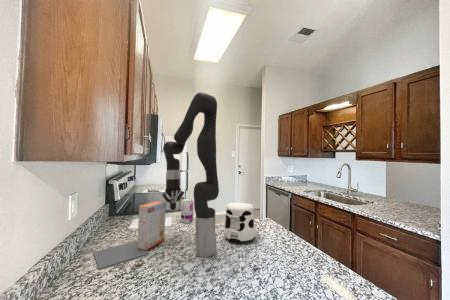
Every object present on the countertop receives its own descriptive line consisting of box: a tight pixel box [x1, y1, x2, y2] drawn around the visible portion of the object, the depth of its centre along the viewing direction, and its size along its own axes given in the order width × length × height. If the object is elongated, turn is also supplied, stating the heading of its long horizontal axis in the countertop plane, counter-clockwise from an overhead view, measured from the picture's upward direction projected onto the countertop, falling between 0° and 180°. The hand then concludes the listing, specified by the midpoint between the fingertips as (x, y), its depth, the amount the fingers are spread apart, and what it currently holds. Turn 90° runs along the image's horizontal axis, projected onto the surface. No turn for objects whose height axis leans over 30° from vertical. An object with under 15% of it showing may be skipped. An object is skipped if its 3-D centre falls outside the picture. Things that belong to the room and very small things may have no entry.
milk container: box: [223, 201, 257, 243], centre depth 113 cm, size 17×17×18 cm
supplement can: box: [180, 198, 194, 224], centre depth 141 cm, size 8×8×15 cm
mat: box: [92, 240, 150, 271], centre depth 95 cm, size 18×20×1 cm
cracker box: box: [137, 200, 167, 251], centre depth 105 cm, size 14×6×21 cm, turn 159°
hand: (173, 209), depth 112 cm, fingers closed
